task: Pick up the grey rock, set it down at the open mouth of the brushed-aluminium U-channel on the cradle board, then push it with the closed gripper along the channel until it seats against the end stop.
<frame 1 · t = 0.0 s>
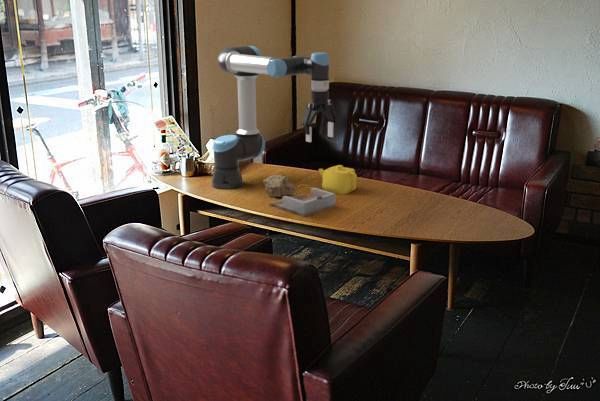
hand: (319, 139, 279), 28 cm above the table, fingers open, 13 cm apart
cradle rails: (309, 199, 276), on the cradle board, point 4 cm above the table
teapot: (337, 189, 304), on the table
rock: (278, 195, 296), on the table
cradle board: (301, 206, 280), on the table
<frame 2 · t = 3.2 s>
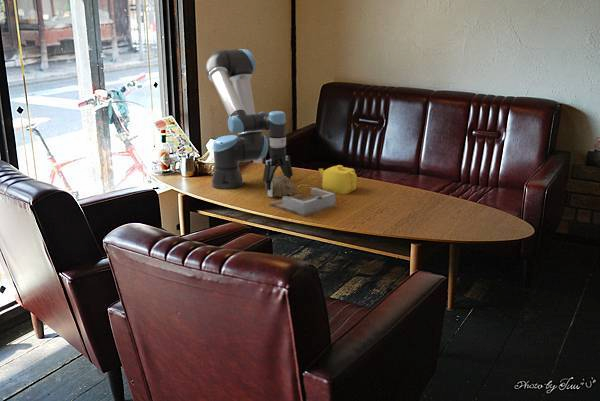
hand: (278, 194, 295), 1 cm above the table, fingers closed on rock, 9 cm apart
rock: (278, 195, 296), on the table, touching gripper
everything else where it was.
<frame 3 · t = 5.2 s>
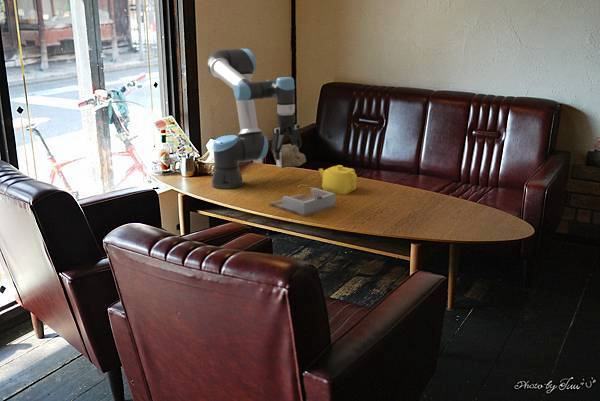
hand: (287, 164, 283), 16 cm above the table, fingers closed on rock, 9 cm apart
rock: (288, 166, 284), point 16 cm above the table, touching gripper
everything else where it was.
when the fingers open (4 cm above the table, at t = 7.3 s): rock drops 2 cm, resting on cradle board.
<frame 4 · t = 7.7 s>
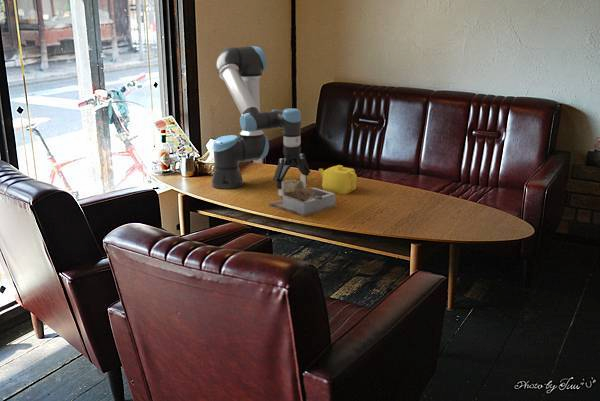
hand: (292, 192, 283), 5 cm above the table, fingers open, 13 cm apart
rock: (292, 200, 284), point 1 cm above the table, touching cradle board
everything else where it was.
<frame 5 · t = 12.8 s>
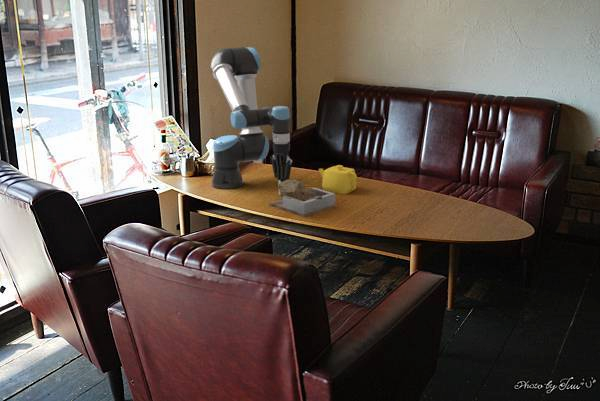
hand: (282, 193, 288), 3 cm above the table, fingers closed
rock: (293, 200, 284), point 1 cm above the table, touching gripper
everything else where it was.
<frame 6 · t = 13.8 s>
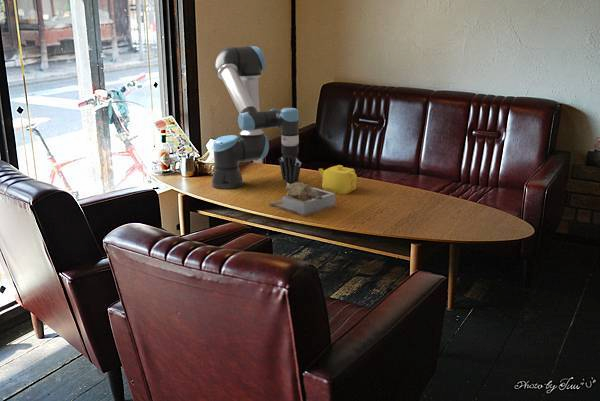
hand: (290, 196, 284), 3 cm above the table, fingers closed
rock: (300, 204, 280), point 1 cm above the table, touching cradle board, gripper
everything else where it was.
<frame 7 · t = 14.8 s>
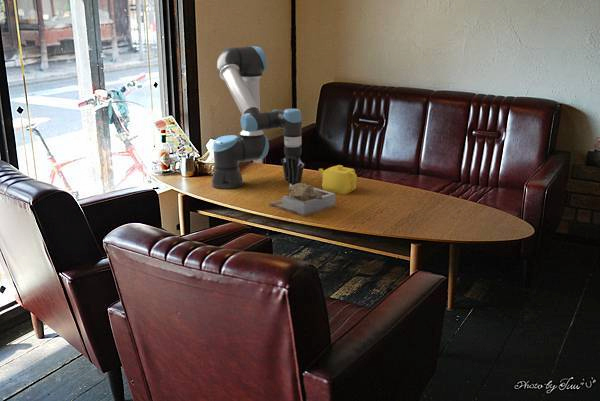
hand: (293, 197, 283), 3 cm above the table, fingers closed
rock: (303, 205, 279), point 1 cm above the table, touching cradle board, gripper
everything else where it was.
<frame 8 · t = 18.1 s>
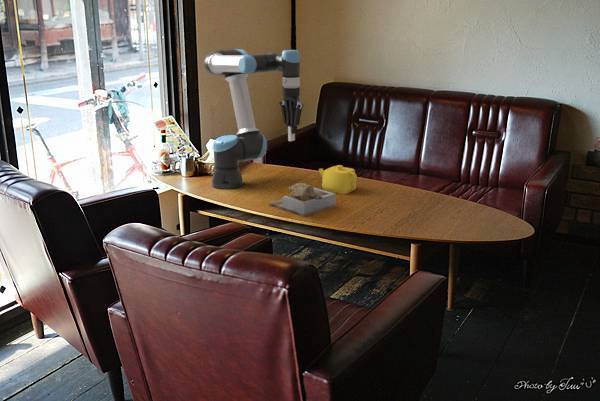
hand: (291, 140, 284), 26 cm above the table, fingers closed
rock: (303, 205, 279), point 1 cm above the table, touching cradle board
everything else where it was.
at the end: rock inside the target area on the cradle board (2.6 cm from its centre), point 1.0 cm above the cradle board's base; the gripper is holding nothing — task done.
